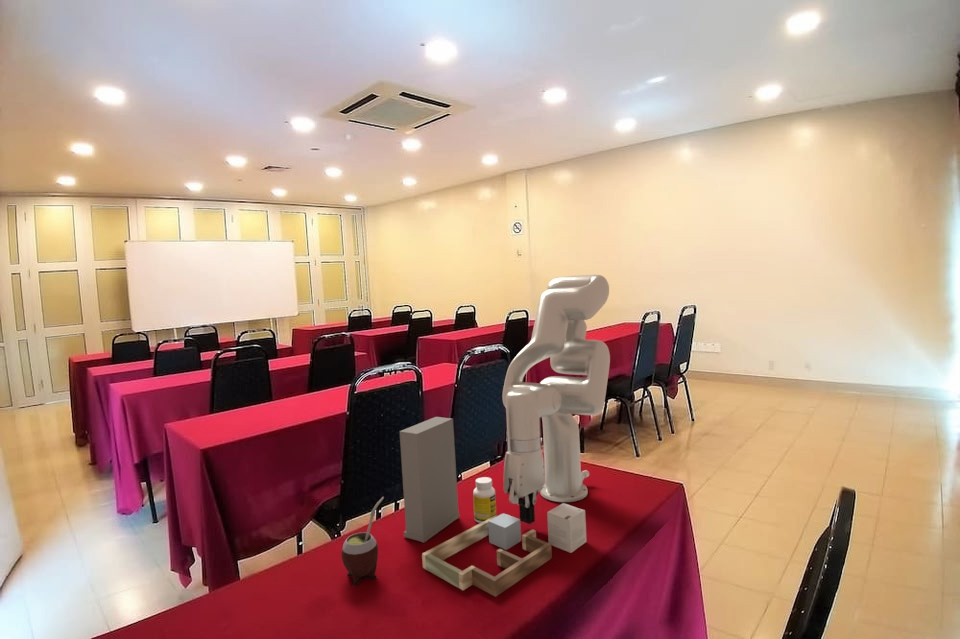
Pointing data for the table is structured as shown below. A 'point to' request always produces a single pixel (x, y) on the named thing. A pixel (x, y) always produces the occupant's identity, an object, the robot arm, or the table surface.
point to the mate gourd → (361, 554)
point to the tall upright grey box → (429, 477)
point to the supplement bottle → (484, 500)
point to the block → (504, 531)
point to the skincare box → (566, 527)
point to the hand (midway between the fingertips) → (527, 521)
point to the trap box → (477, 577)
